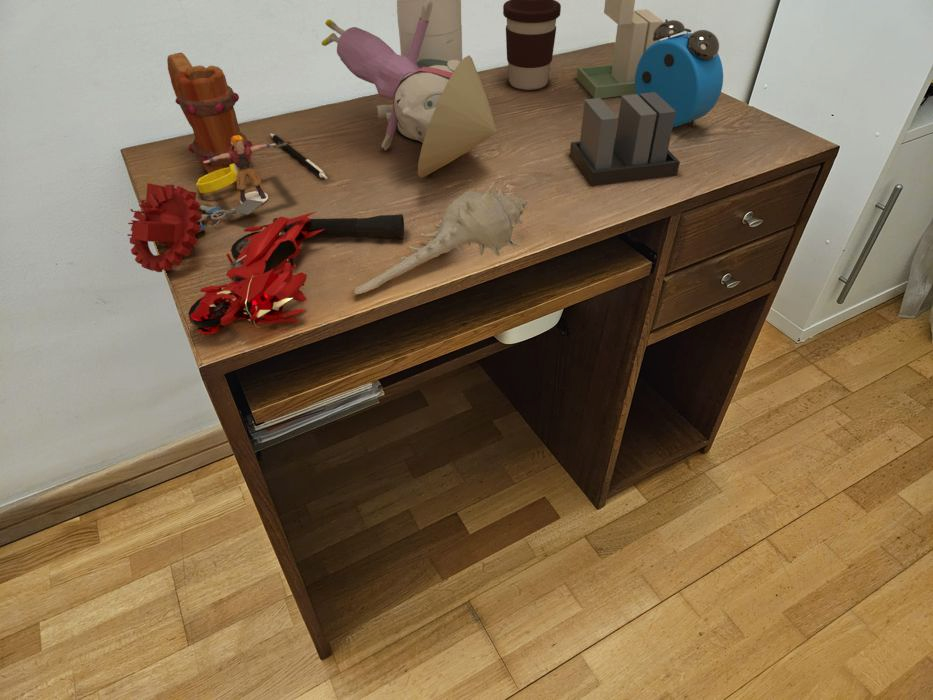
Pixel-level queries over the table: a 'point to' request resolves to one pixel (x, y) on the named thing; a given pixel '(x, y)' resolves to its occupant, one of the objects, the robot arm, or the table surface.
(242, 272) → the toy motorcycle
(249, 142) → the mug
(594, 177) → the grey tray
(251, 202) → the key chain
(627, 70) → the white books
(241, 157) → the action figure
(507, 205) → the seashell
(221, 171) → the yellow curved hollow piece
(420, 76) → the figurine
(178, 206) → the red toothed ring
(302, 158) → the pen
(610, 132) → the grey books
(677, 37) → the alarm clock
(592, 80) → the green tray
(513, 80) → the coffee cup
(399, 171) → the table surface
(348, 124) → the table surface
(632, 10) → the white box
